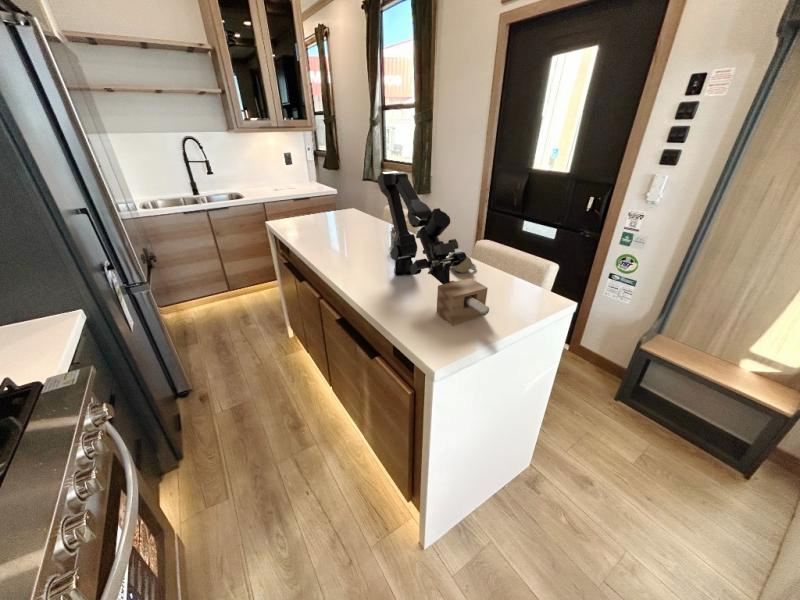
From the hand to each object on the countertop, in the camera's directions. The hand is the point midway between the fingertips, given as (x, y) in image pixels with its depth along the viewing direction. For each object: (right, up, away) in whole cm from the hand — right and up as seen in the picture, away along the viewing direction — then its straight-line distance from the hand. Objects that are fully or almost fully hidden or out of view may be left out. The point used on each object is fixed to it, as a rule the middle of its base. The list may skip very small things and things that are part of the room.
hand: (448, 287), depth 101 cm
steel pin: (+4, -6, -6) cm, 10 cm away
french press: (-16, +21, +53) cm, 59 cm away
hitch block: (+3, -8, -2) cm, 9 cm away
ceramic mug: (+10, +8, +30) cm, 32 cm away
